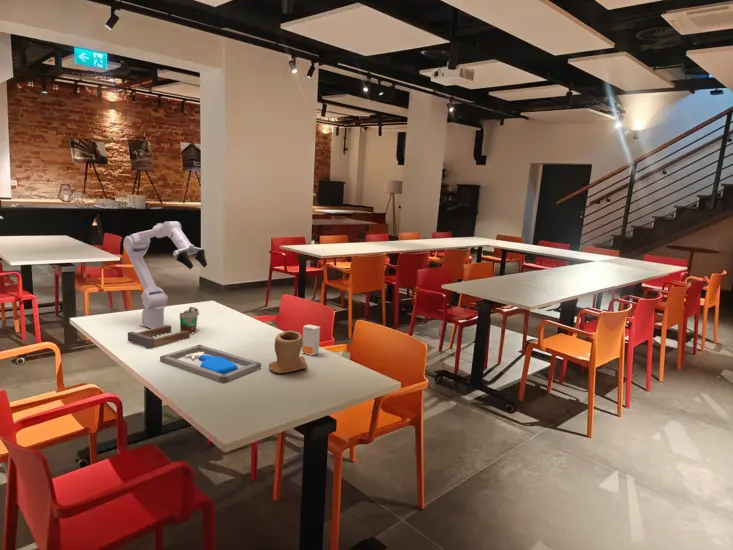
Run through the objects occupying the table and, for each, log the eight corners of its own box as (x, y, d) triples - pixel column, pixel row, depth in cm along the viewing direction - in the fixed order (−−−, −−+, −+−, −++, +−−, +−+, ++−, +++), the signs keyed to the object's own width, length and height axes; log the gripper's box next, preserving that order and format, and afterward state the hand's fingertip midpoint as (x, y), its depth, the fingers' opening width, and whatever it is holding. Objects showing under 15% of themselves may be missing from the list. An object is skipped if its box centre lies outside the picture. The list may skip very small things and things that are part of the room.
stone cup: (278, 378, 176) (280, 339, 173) (264, 368, 185) (266, 330, 183) (315, 372, 185) (317, 334, 182) (299, 362, 194) (301, 325, 192)
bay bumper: (127, 341, 203) (127, 332, 202) (132, 340, 205) (132, 331, 204) (149, 348, 196) (149, 339, 196) (154, 347, 198) (154, 338, 198)
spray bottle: (240, 364, 180) (207, 348, 196) (213, 371, 172) (181, 353, 188) (240, 372, 180) (207, 355, 197) (213, 379, 172) (181, 360, 189)
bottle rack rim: (160, 361, 184) (160, 356, 184) (199, 349, 200) (199, 344, 200) (223, 383, 168) (223, 377, 168) (260, 368, 185) (261, 363, 184)
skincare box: (301, 353, 204) (302, 326, 202) (307, 351, 208) (308, 323, 206) (313, 356, 202) (314, 328, 199) (318, 354, 205) (320, 326, 203)
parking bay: (132, 340, 205) (132, 333, 204) (168, 331, 220) (168, 325, 220) (154, 347, 198) (154, 340, 198) (189, 337, 214) (189, 331, 213)
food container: (193, 335, 217) (193, 314, 215) (179, 334, 217) (179, 313, 215) (202, 328, 229) (203, 307, 228) (189, 327, 229) (189, 306, 228)
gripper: (172, 237, 203) (189, 262, 200) (199, 236, 215) (216, 259, 212) (165, 249, 206) (181, 273, 203) (192, 246, 219) (208, 269, 215)
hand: (198, 266), depth 208 cm, fingers open, 7 cm apart
